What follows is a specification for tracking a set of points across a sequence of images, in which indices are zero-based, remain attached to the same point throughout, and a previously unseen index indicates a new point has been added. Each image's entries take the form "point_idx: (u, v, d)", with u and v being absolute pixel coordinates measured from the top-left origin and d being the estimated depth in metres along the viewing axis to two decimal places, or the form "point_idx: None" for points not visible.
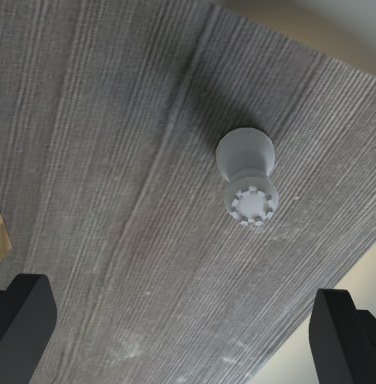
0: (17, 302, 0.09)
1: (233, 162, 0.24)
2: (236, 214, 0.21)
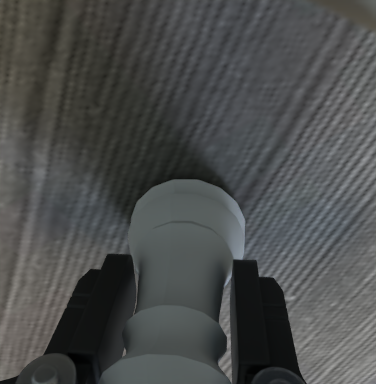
0: (115, 278, 0.10)
1: (146, 265, 0.11)
2: None
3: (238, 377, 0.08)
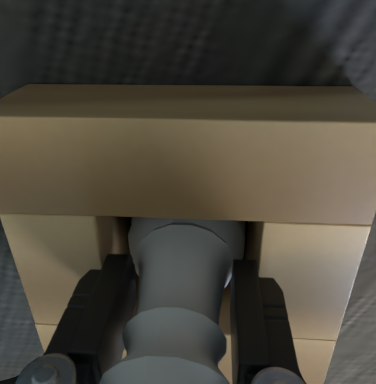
0: (115, 278, 0.10)
1: (147, 267, 0.11)
2: None
3: (238, 377, 0.08)
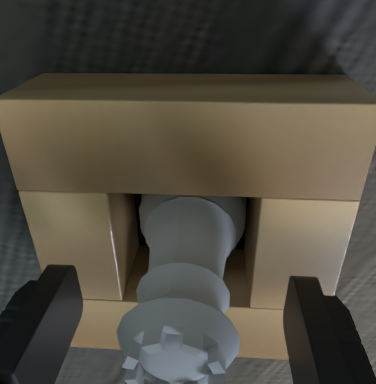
0: (50, 291, 0.10)
1: (157, 233, 0.12)
2: (137, 383, 0.09)
3: None
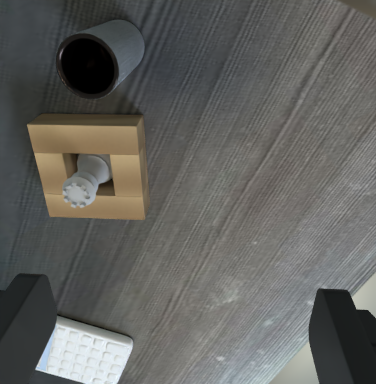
0: (17, 302, 0.09)
1: (79, 167, 0.37)
2: (67, 200, 0.34)
3: None
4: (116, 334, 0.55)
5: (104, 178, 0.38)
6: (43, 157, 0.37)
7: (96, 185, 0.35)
